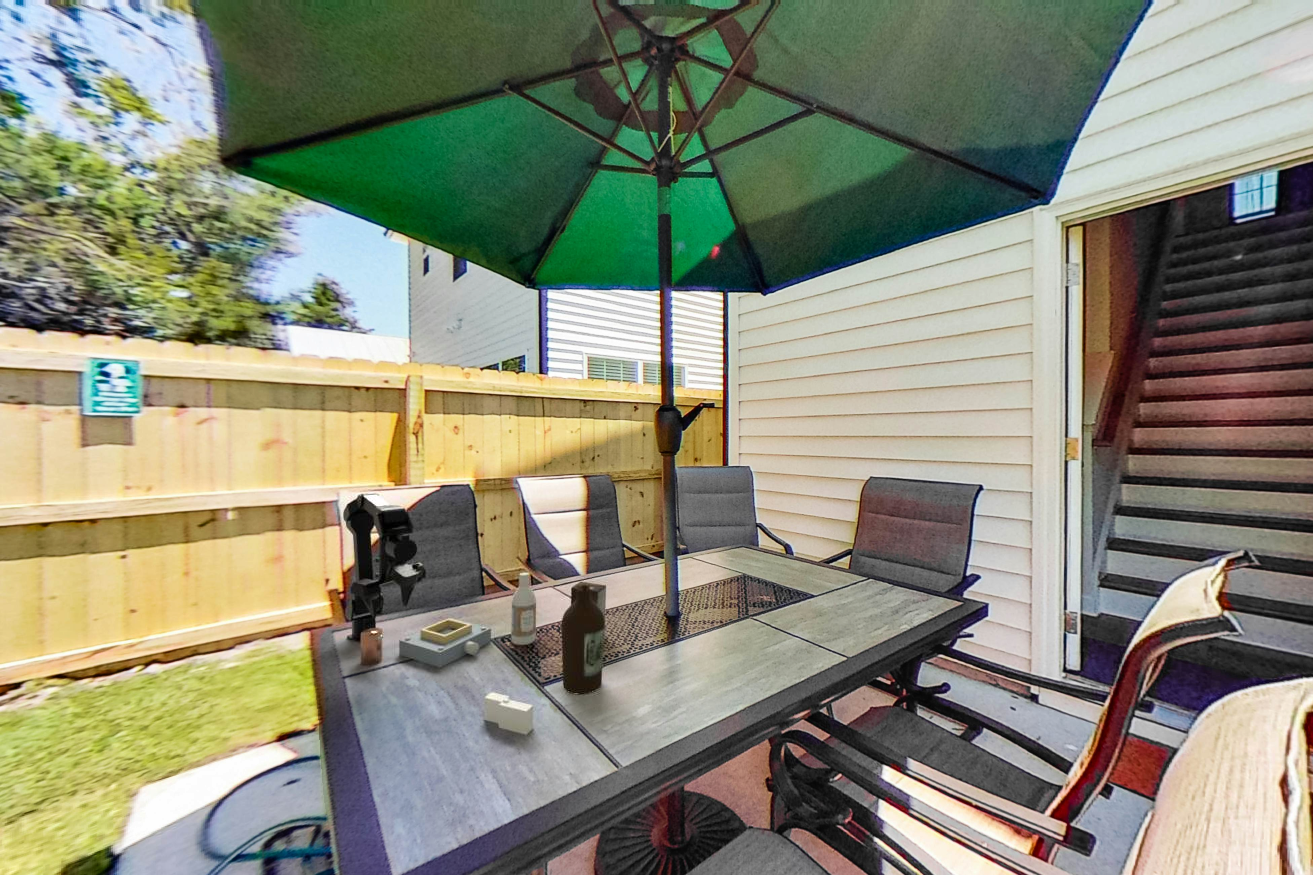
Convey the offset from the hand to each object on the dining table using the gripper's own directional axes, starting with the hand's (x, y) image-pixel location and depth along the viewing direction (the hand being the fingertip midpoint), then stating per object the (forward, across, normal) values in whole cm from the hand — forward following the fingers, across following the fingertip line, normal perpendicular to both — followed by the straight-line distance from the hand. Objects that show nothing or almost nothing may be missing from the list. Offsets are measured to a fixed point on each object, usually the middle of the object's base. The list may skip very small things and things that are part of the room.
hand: (390, 611), depth 134 cm
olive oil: (+12, +11, -54) cm, 57 cm away
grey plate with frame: (+13, +12, -10) cm, 20 cm away
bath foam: (+13, +25, -25) cm, 38 cm away
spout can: (+13, -3, +3) cm, 14 cm away
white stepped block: (+13, -9, -49) cm, 51 cm away
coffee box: (+13, +35, -41) cm, 55 cm away
